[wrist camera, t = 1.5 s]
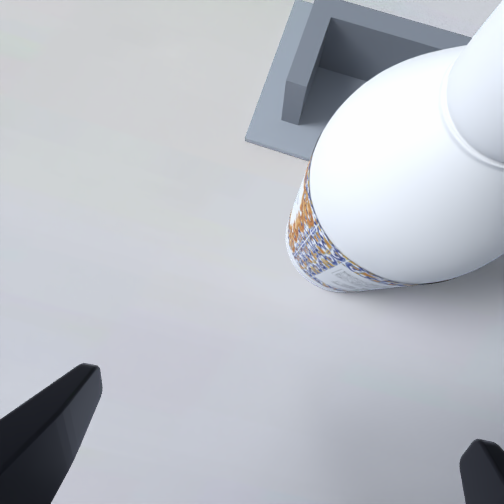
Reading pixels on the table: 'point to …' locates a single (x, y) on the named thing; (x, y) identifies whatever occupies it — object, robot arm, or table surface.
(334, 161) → the bath foam
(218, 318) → the table surface
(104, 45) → the table surface
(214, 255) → the table surface
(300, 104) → the gray square holder
